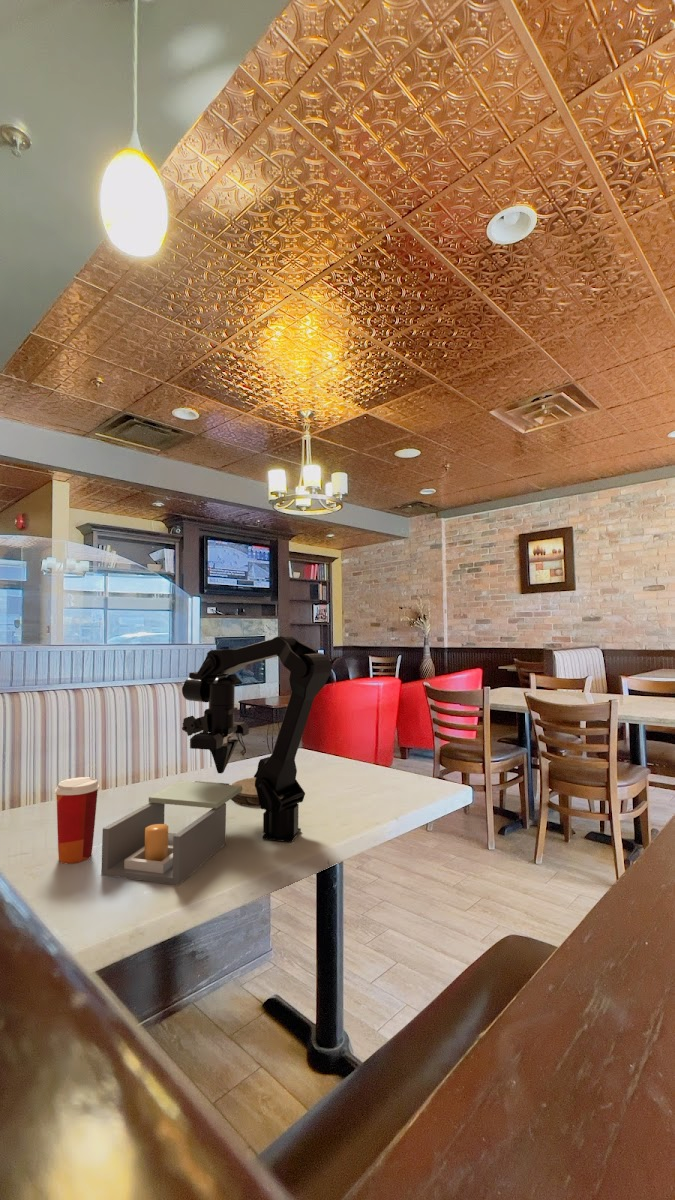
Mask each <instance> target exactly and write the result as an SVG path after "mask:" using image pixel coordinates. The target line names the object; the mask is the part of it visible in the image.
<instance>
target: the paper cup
mask: <svg viewBox="0 0 675 1200" xmlns="http://www.w3.org/2000/svg"><path fill="white" fill-rule="evenodd" d="M98 789H100V784H99V783H98V779H96V778H92V777H88V776H83V777H82V776H81V777H74V778H67V779H64V780H62V781H61V780H60V781H59V782H58V785H57V786H56V788H55V790H54V795H56V818H57V819H56V820H57V822H56V824H57V827H56V828H57V848H58V849H57V854H58V861H59V862H60V863H61V862H62V863H61V864H64V863H67V865H72V864H71V863H73V864H78V863H81V862H85V861H87V860H88V859H89V860H90V858H91V857H92V853H93V844H94V838H95V837H94V834H95V826H96V825H95V824H96V813H97V803H98V793H99V792H98Z"/></svg>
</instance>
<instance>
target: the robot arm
mask: <svg viewBox="0 0 675 1200" xmlns="http://www.w3.org/2000/svg"><path fill="white" fill-rule="evenodd" d="M276 657H278V658H279V660H280V662H281V663H282V666H283V667H284V668H286V669H287V670H288V671H289V677H288V680H289V685H290V691H291V693H290V696H289V700H288V702H287V705H286V710H285V711H284V715H283V718H282V722H281V725H280V728H279V731H278V735H277V736H276V737H277V738H276V741H275V744H274V746H273V750H272V754H271V755H270V756H267V757H264V758H261V759H259V760H258V761H259V762H258V764H257V770H256V773H254V775H253V778H255V777H256V779H255V788H256V790H257V794H258V798H259V802H260V806H259V807H260V809H261V810H264V812H263V814H262V815H263V817H262V825H263V826H262V828H263V829H262V832H263V835H262V836H261V837H262V838H261V839H263V840H269V841H280V842H287V843H288V842H293V841H294V840H295V839H296V838H297V836H298V835H299V834H300V833H301V831H302V828H299V808H300V807H299V804H300V803H303V802H304V800H305V799H304V798H305V795H306V792H305V791H304V789H303V788H302V786H301V785H300V783H299V782H298V781H297V778H296V777H297V773H298V772H297V771H298V769H297V765H296V761H295V760H296V755H297V753H298V750H299V746H300V743H301V740H302V737H303V734H304V731H305V727H306V724H307V722H308V719H309V715H310V712H311V710H312V706H313V703H314V700H315V698H316V696H318V694H319V693H320V691H322V689H323V688H324V687H325V685H326V683H327V682H328V679H329V678H330V676H331V673H332V670H333V665H332V663H331V660H330V659H329V658H328V656H327V655H326V654H324V653H322V652H321V653H320V652H318V651H317V650H315V649H314V648H312V647H310V646H308V645H306V644H304V643H302V642H300V641H299V640H298V639H297V638H295V637H294V636H293V635H276V636H275V637H273V638H269V639H267V640H263V641H260V642H255V643H252V644H249V645H246V646H245V645H244V646H241V647H238V648H226V649H225V648H223V649H222V648H221V649H210V650H209V651H208V652H207V653H206V657H205V659H204V660H203V663H202V664H201V666H200V668H199V670H198V671H194V672H192V671H191V672H189V673H188V678H187V679H185V681H184V682H183V685H182V687H181V695H182V696H183V698H184V699H185V700H186V701H189V702H191V701H192V702H200V703H201V702H202V703H208V708H206V709H205V710H204V711H203V716H200V717H196V718H195V716H194V715H190V716H186V717H184V718H183V719H182V720H183V721H182V727H181V729H182V731H183V732H185V733H186V734H187V737H189V736H191V738H190V739H189V748H190V749H191V750H192V749H193V750H207V751H210V753H211V756H212V759H213V762H214V766H215V768H216V772H217V774H223V773H224V772H225V770H226V768H227V765H228V763H229V761H230V760H231V757H232V755H233V752H234V751H235V748H236V746H237V745H238V743H239V741H240V740H239V739H237V738H236V739H234V736H233V735H234V734H238V735H239V734H241V736H243V737H245V736H248V735H249V733H250V732H249V730H250V726H249V725H248V724H247V722H245V721H235V714H236V713H238V707H235V694H236V693H235V687H236V686H240V685H242V684H243V681H242V680H241V679H240V678H239V677H238V676H237V674H235V673H236V672H238V671H240V670H243V669H244V668H245V667H246V666H248V665H250V664H253V663H257V662H261V661H264V660H268V659H272V658H276ZM193 734H194V735H193ZM192 735H193V736H192ZM281 795H284V796H283V797H280V798H279V797H278V796H281Z"/></svg>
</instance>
